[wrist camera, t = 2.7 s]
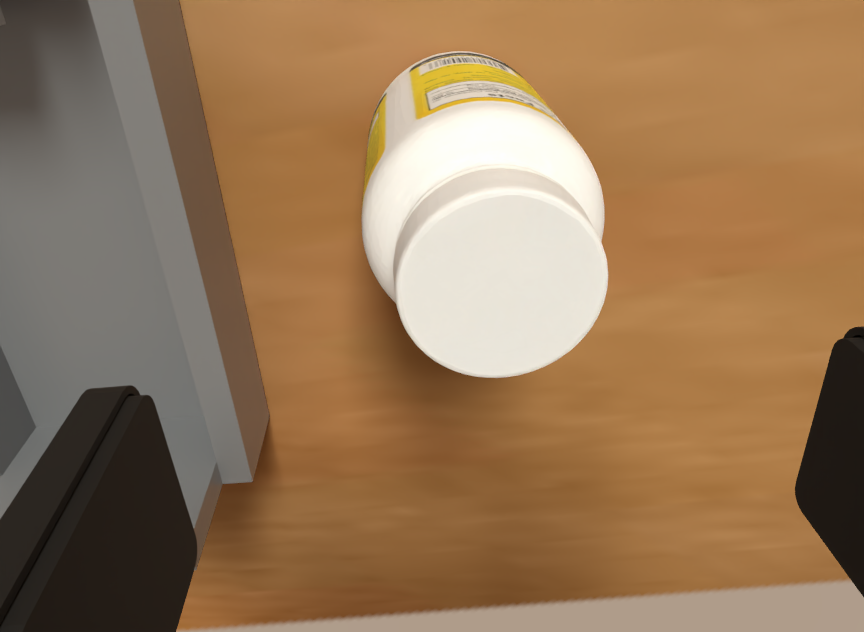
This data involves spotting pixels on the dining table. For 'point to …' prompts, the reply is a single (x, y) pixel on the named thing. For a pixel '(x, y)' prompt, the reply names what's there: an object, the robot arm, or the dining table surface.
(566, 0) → the dining table surface
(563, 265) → the supplement bottle
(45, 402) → the pusher lane
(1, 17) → the spring paddle
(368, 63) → the dining table surface
